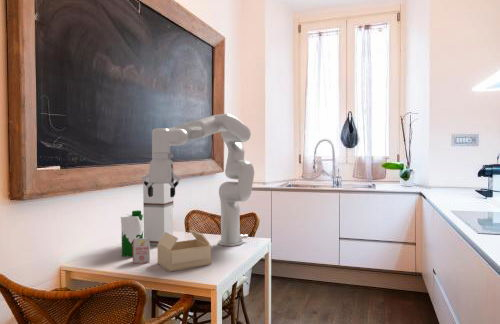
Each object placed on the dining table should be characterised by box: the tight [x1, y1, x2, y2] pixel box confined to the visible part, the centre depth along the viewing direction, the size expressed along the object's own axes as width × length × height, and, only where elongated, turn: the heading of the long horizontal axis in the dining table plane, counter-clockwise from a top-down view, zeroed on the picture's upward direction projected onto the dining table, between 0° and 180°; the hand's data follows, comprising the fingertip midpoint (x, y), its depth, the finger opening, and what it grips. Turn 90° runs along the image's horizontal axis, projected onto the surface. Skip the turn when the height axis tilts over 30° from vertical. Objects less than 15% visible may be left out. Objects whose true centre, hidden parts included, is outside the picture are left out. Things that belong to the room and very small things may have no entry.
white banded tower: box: [142, 175, 174, 246], centre depth 199 cm, size 11×11×35 cm
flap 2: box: [188, 229, 211, 245], centre depth 164 cm, size 1×13×6 cm
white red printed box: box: [132, 237, 151, 264], centre depth 164 cm, size 4×7×10 cm, turn 101°
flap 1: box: [158, 232, 179, 250], centre depth 157 cm, size 1×13×6 cm
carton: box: [156, 238, 212, 273], centre depth 161 cm, size 18×15×8 cm
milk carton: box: [120, 210, 144, 258], centre depth 176 cm, size 9×9×20 cm
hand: (161, 196), depth 166 cm, fingers open, 9 cm apart
